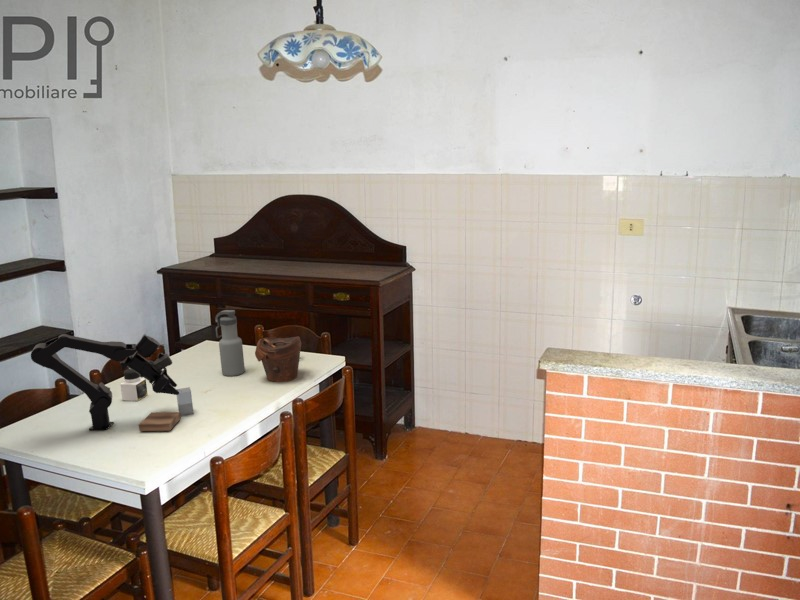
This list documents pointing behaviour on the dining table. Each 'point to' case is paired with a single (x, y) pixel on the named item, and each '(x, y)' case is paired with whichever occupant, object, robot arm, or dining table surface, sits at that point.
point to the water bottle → (230, 344)
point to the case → (279, 357)
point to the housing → (185, 401)
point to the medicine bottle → (133, 386)
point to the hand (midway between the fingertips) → (177, 389)
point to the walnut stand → (160, 421)
